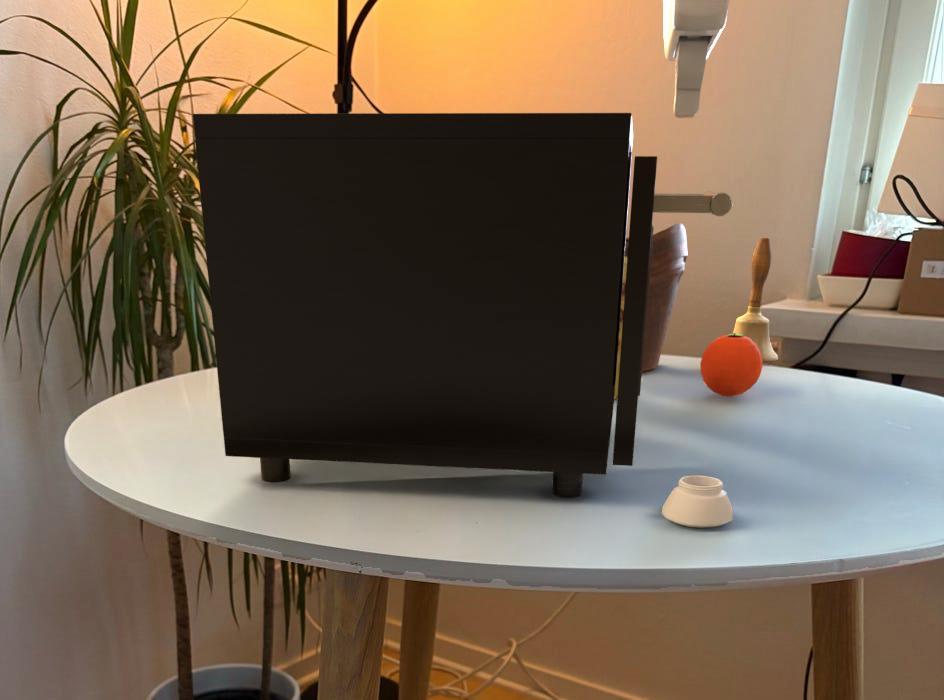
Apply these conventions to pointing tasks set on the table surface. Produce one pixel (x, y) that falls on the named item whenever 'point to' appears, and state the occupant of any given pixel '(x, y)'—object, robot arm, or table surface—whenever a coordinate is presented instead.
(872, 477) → the table surface
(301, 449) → the oven
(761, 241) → the hand bell
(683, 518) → the white jar
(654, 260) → the terracotta flower pot
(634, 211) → the oven door
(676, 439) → the table surface
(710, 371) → the clementine
